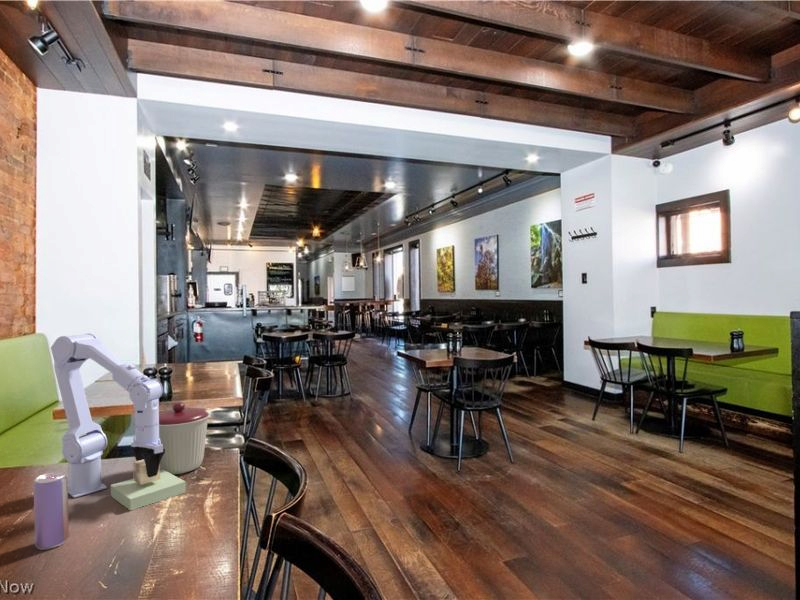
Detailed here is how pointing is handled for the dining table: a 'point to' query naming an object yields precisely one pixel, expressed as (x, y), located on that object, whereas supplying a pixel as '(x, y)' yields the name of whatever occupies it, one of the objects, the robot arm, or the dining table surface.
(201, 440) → the canister
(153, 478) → the maple block
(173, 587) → the dining table surface
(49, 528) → the beverage can
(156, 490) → the green plinth
